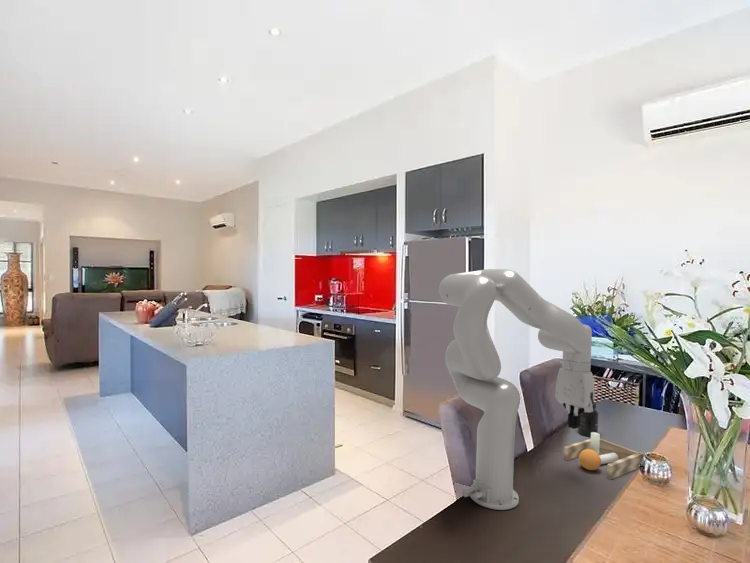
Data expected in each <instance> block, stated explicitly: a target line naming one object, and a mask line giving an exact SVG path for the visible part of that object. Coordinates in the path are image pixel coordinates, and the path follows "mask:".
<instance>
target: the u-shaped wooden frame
mask: <svg viewBox="0 0 750 563" xmlns="http://www.w3.org/2000/svg"><path fill="white" fill-rule="evenodd" d="M590 444H591V438H589V439H585V440H582V441H579V442H575V443H572V444H569V445H566V446H564V447H563V448H564V449H563V459H564V460H566V461H571V460H572V459H576V458H579V455H580V453H581V452H582V451H583V450H585V449H590ZM599 453H602V454H609V453H616V454H617V455H618V460H617V461H615V462H611V463H606V464H607V466H606V478H607V479H608V480H613V479H616V478H618V477H621V476H623V475H626V474H628V473H631V472H632V471H635V470H637V469H640V468H639V465H640V462H641V461H642V459H643V457H644V456H645V454H644V452H639V451H637V450H634V449H631V448H628V447H625V446H622V445H619V444H617V443H614V442H611V441H609V440H606V439H602V438H601V437H600V448H599ZM643 460H644V459H643Z"/></svg>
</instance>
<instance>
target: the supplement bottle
mask: <svg viewBox="0 0 750 563" xmlns="http://www.w3.org/2000/svg"><path fill="white" fill-rule="evenodd" d="M599 415H600V414H599V411H598V410H597V402H595V401H594V405H593V412H584V413H583V414H582V415H581V422H580V427H579V428H577V433H578V434H580V435H581V434H582V436H584V437H590V438H591V432H596V433H599V417H600V416H599Z"/></svg>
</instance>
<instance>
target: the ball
mask: <svg viewBox="0 0 750 563" xmlns="http://www.w3.org/2000/svg"><path fill="white" fill-rule="evenodd" d="M599 455H600V454H599ZM599 455H598V453H597V452H595V451H594V450H591V449H585V450H583V451H582V452H581V453H580V455H579V457H578V459H579V463H580V465H581V467H583V468H584V469H586V470H588V471H596V470H598V469H599V468H600V467H601V465H602V464H601V459H600V456H599ZM600 464H601V465H600Z"/></svg>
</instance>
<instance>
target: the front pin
mask: <svg viewBox="0 0 750 563" xmlns="http://www.w3.org/2000/svg"><path fill="white" fill-rule="evenodd" d="M599 456H600V459H601V464H600V466H602V465H605V464H610V463H612V462H615V461H617V460H619V459H618V455H617V454H616V453H609V454H605V453H603V454H599Z"/></svg>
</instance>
